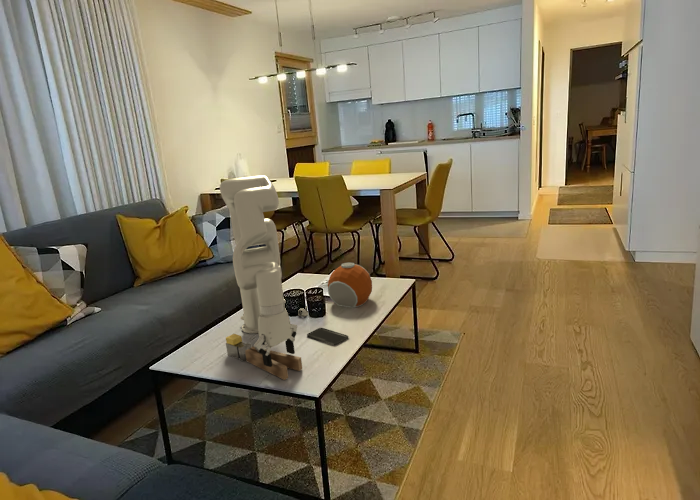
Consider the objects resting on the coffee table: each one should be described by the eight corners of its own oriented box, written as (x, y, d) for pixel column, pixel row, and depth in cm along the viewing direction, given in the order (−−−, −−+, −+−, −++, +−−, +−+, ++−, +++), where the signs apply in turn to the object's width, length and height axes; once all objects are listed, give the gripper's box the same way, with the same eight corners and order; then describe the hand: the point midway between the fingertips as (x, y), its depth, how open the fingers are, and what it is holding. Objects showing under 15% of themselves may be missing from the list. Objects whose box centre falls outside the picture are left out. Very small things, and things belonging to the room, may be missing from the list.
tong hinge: (226, 355, 164) (224, 343, 163) (236, 350, 168) (234, 338, 167) (245, 362, 158) (243, 350, 157) (255, 357, 161) (253, 344, 160)
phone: (320, 327, 179) (349, 336, 169) (320, 329, 180) (350, 338, 170) (305, 334, 174) (334, 344, 164) (305, 337, 174) (334, 347, 164)
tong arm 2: (251, 358, 160) (250, 348, 159) (255, 356, 161) (253, 346, 160) (299, 371, 149) (298, 359, 148) (302, 368, 150) (301, 357, 149)
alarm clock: (380, 297, 207) (377, 259, 202) (360, 312, 192) (357, 271, 188) (343, 293, 216) (340, 256, 212) (321, 306, 202) (317, 268, 198)
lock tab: (226, 342, 163) (225, 337, 163) (234, 338, 166) (234, 333, 165) (233, 345, 161) (232, 340, 160) (242, 341, 163) (241, 335, 163)
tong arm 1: (246, 361, 158) (245, 350, 157) (250, 359, 159) (248, 348, 158) (284, 380, 144) (282, 368, 143) (288, 378, 145) (286, 366, 144)
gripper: (284, 297, 154) (291, 346, 158) (242, 315, 141) (250, 368, 145) (300, 300, 149) (307, 350, 153) (259, 319, 136) (267, 373, 140)
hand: (279, 359), depth 149 cm, fingers open, 9 cm apart
